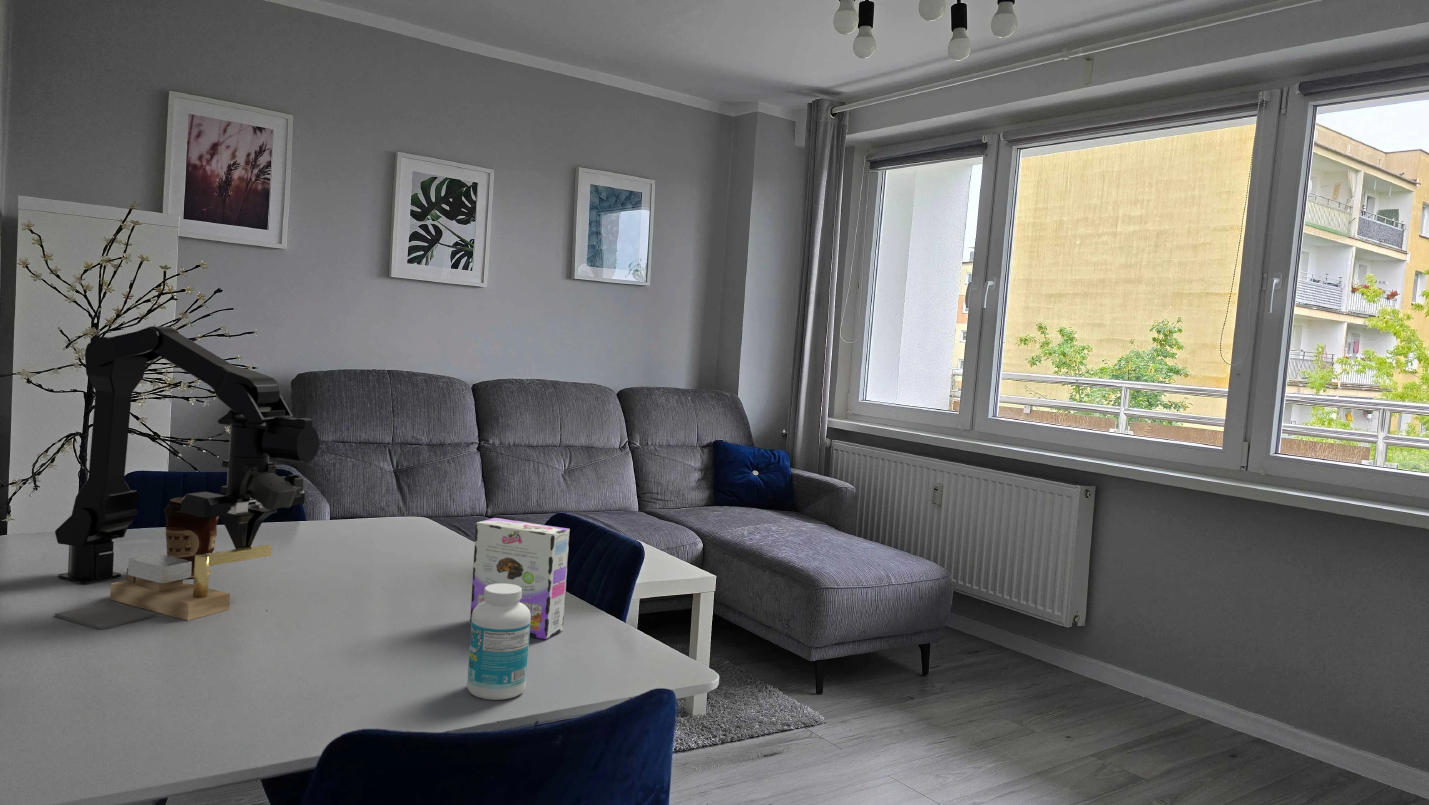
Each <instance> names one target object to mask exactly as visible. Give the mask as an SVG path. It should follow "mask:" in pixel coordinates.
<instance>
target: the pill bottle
mask: <svg viewBox="0 0 1429 805" xmlns="http://www.w3.org/2000/svg"><path fill="white" fill-rule="evenodd" d="M521 597H522V588H521V587H520V586H517V585H514V584H504V583H500V584H491V585H488V586H486V587H485V589H484V599H485V602H483V603H480V604H479V605H477V606H476V607H475V608H474V610H473V612H472V618H471V625H470V634H469V635H470V636H469V638H470V640H469V651H468V652H469V653H468V654H469V655H468V668H467V682H466V686H467V690H468V692H469V693H470V694H472V695H473V696H475V697H477V698H480V699H483V700H489V701H501V700H508V699H513V698H515V697H518V696H520V695H521V694H522V693H523V692H524V691H525V689H526V685H527V677H528V676H527V675H528V660H529V648H530V646H529V645H530V636H529V635H530V621H531V614H530V611H529V609H528V608H527V607H526V606H525V605H524V604H522V603H520V602H519V601H520V599H521Z"/></svg>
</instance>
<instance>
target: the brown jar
mask: <svg viewBox="0 0 1429 805" xmlns="http://www.w3.org/2000/svg"><path fill="white" fill-rule="evenodd" d="M182 499H183V497H174V498H171V499H169V502H168V504H167V506H166V507H165V508H164V509H163V512H164V517H165V519H166V525H165V541H166V544H165V545H166V555H167V556H171V557H175V558H179V559H184V560H188V561H192V568H191V577H190V578H192V579H193V578H194V564H195V555H198V554H208V553H214V552H215V551H214V550H215V545H216V540H217V535H218V534H217V532H218V529H217V528H218V522H219V519H220V517H219V516H217V517H200V516H196V515H191V514H187V513H183V512H181V501H182ZM210 575H211V570H210V569H209V576H210Z"/></svg>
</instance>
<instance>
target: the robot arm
mask: <svg viewBox="0 0 1429 805" xmlns="http://www.w3.org/2000/svg"><path fill="white" fill-rule="evenodd" d="M160 358H163V359H164V360H165V361H167V362H169V363H170V364H172V365H174V366H176V367H177V368H179V369H181V370H182V371H184V372H186V373H187V374H190V375H191V376H193V377H195V378H196V379H198V380H199V381H200V382H203V383H204V384H207V385H208V386H209V387H210V388H211V389H212V390H213V392H214V393H215V396H216V397H217V399H219V401H221V402H222V403H223V404H224V405H225V406H226V407H228V408H229V410H228V411H227V413H226V414H225V415H222V416H221V417H220V418H219V419H218V420H217V423H218V424H219V425H227V426H230V430H229V431H230V433H229V446H228V447H229V448H228V459H224V460H223V459H222V460H221V461H222V462H221V463H222V464H221V467H222V468H227V475H226V485H223V486H220V493H214V492H209V491H199V492H192V493H186V494H185V495H184V496H183V497H182V498H183V499H182V501H181V512H183V513H187V514H191V515H196V516H200V517H217V516H219V519H220V520H221V522H222V524H223V525H224V527H225V529H226V531H227V533H228V535H229V537H230V540H231V541H232V544H233V547H234V549H240V548H246V547H252V545H253V542H254V541H255V537H256V536H257V533H258V532H259V530H260V528H261V525H262V523H263V521H265V519H266V518H268V517H270V515H272V514H275V513H276V512H277V511H278V509H282V508H286V509H288V508H291V506H299V505H304V504H305V503H306V502H305V501H306V492H305V491H304V477H303V476H301V475H300V474H298V473H295V474H288V475H287V476H285V475H283V476H280V475H277V473H276V465H275V462H271V461H270V458H271V459H274V460H276V459H277V460H281V461H290V462H291V461H292V462H299V463H309V462H311V461H313V460H314V459H315V458H316V456H317V454H318V452H319V449H320V448H319V447H320V440H321V439H320V438H319V434H318V432H317V429H316V428H314V427H313V419H312V418H307V417H305V418H304V417H303V418H296V417H294V415H293V413H292V411H291V410H290V408H289V407H288V404H287V403H286V401H285V399H284V397H283V395H282V394H281V392H280V391H281V390H280V387H279V386H280V384H279V383H278V382H277V380H275V378H273V377H272V376H269V375H267V374H263V373H262V372H258V371H256V370H251V369H247V368H245V367H244V368H243V367H239V366H237V365H234V364H232V363H230V362H229V361H227V360H225V359H223V358H221V357H220V356H218V355H217V354H215V353H213V352H212V351H210V350H208V349H206V348H204V347H203V346H201V345H199V344H198V343H196V342H195V341H193V340H191V339H189V337H186V336H184V335H183V334H181V333H180V332H179V331H178V330H177V329H175V328H174V327H170V326H157V325H156V326H154V325H153V326H148V327H145V328H142V329H139V330H138V331H133V332H128V333H123V334H120V335H115V336H111V337H110V336H98V337H95V338H94V339H92V340H91V341H90V342H88V343H87V345H86V347H85V350H84V359H85V373H86V376H87V378H88V380H89V382H90V384H91V386H92V387H93V389H94V393H95V395H94V405H93V406H94V408H93V418H92V419H93V420H92V430H91V444H90V452H89V453H90V455H89V466H88V477H87V480H86V481H85V483H84V484H83V486H82V487H81V489H80V490H79V491H78V493H77V494H76V495H75V499H74V504H73V507H72V511H71V515H70V516H69V517H68V518H67V519H65V521H64V522H63V523H62V524H61V525H60V526H58V528H56V530H54V533H55V537H56V542H57V544H58V545H59V544H60V545H66V546H68V564H67V566H68V569H67V572H64V573H59V574H58V575H57V577H58V578H59V579H63V580H65V581H70V582H74V583H77V584H84V585H85V584H91V583H96V582H102V581H105V580H110V579H115V578H120V577H122V573H120V572H117V571H114V562H115V561H114V559H115V558H114V556H115V553H114V545H115V543H114V541H113V540H115V539H119V538H120V539H122V538H124V537H125V535H126V533H127V531H128V528H129V526H130V525H131V524H132V523H133V521H134V517H135V515H138V513H139V512H138V508H137V503H138V499H139V491H138V490H131V489H130V487H129V485H128V483H127V482H126V480H125V476H126V473H125V472H126V462H127V455H128V454H127V450H128V439H129V429H130V416H131V407H132V395H133V393H134V391H135V389H136V388H137V387H138V385H139V384H140V382H141V381H142V380H143V378H144V376H145V373H146V369H147V368H146V366H147V365H148V363H150V362H153V361H156V360H159V359H160ZM224 494H226V495H224Z"/></svg>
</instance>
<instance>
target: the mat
mask: <svg viewBox="0 0 1429 805" xmlns="http://www.w3.org/2000/svg"><path fill="white" fill-rule="evenodd" d="M54 617H56V618H59V619H63V620H67V621H70V622H73V623H76V624H80V625H82V626H83V625H84V626H87V627H91V628H94V629H97V630H101V631H102V630H106V629H109V628H110V629H111V628H114V627H118V626H122V625H126V624H129V623H133V622H137V621H141V620H145V619H150V618H154V617H156V613H153V612H150V611H148V610H147V611H146V610H144V609H139V608H135V607H132V606H128V605H125V604H120V603H116V602H115V601H114V602H113V601H111V600H109V601H105V602H100V603H95V604H90V605H87V606H82V607H77V608H74V609H68V610H65V611H60V612H55V613H54Z"/></svg>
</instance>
